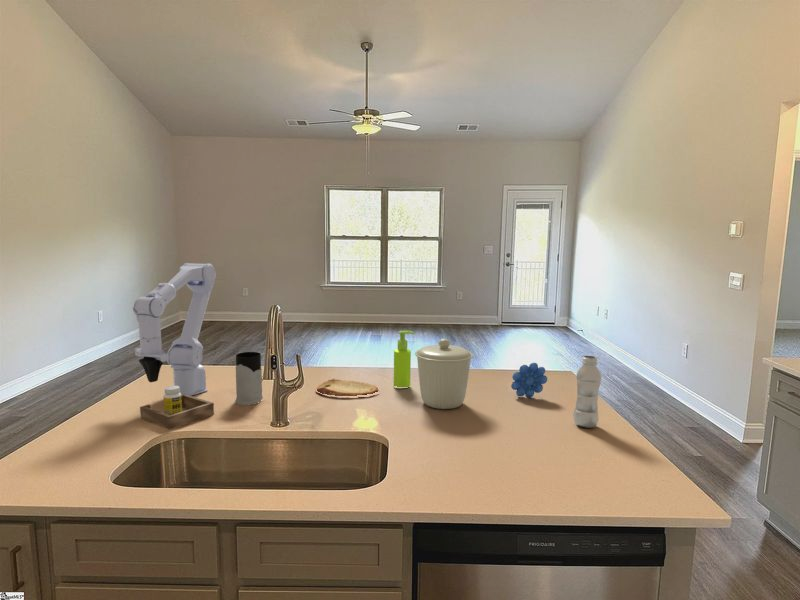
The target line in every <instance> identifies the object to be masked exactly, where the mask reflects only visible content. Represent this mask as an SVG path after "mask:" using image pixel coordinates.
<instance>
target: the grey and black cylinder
mask: <svg viewBox="0 0 800 600" xmlns="http://www.w3.org/2000/svg"><path fill="white" fill-rule="evenodd" d="M264 355H265V352H263V353H260V352H258V351H243V352H239V353H237V354H235V387H236V388H235V390H236V392H235V393H236V398H235V402H236V404H238V405H240V404H241V406H250V405H251V404H253V405H256V404H255V403H257V404H259V403H258V402H260V401H261V400H262V399H263V398H264V397H263V381H264V379H262V377H263V375H262V373H263V371H262V362H261V361H262V357H263V356H264ZM260 403H261V402H260Z"/></svg>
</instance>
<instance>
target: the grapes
mask: <svg viewBox="0 0 800 600" xmlns="http://www.w3.org/2000/svg"><path fill="white" fill-rule="evenodd" d="M518 370H519V371H516V372H514V373H513V374H512V377H511V378H512V380H513V382H512V383H511V385H510V388H511V389H512V390H514V391H516V392H515V394H516V396H517V397H523V396H525V397H526V398H528V399H529V398H530V399H531V398H532V397H533V396H534V395H535V394H540V393H542V392H543V389H544V385H545V384H546V383H547V381H548V376H547V375H546V374H545V373H546V368H545V367H544V366H539V365H538V363H537V362H531V363H530V364H529V365H527V364H521V366H519V369H518Z"/></svg>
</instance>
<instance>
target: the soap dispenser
mask: <svg viewBox="0 0 800 600" xmlns="http://www.w3.org/2000/svg"><path fill="white" fill-rule="evenodd" d="M398 334H399V339H398V340H397V348H396V349H394V350H393V387H394V386H397V387H409V386H410V387H411V366H412V365H411V362H412V361H411V360H412V359H411V358H412V357H411V356H412V351H411V349H409V348H408V339H406V334H409V335H414V334H415V332H414V331H411V330H398Z"/></svg>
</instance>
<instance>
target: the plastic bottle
mask: <svg viewBox="0 0 800 600" xmlns="http://www.w3.org/2000/svg"><path fill="white" fill-rule="evenodd" d="M581 363H582V365H581V366H580V367H579V369H578V370H577V373H576V384H577V385H576V387H577V389H576V391H577V392H576V393H577V395H576V403H575V408H574V411H573V421H574V423H575V424H576V425H577V426H579V427H582V428H586V429H587V428H590V429H591V428H595V427H596V426H597V425H598V423H599V411H598V408H599V406H598V398H599V392H600V387H601V382H602V373H601V372H600V369H598V367H597V365H598V357H596V356H594V355H583V356H582V361H581Z"/></svg>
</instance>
